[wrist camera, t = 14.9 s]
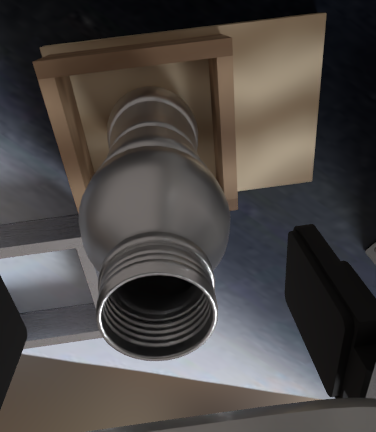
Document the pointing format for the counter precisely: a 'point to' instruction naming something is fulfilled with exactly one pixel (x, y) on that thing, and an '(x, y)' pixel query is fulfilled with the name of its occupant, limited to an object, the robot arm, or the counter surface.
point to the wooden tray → (197, 96)
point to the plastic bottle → (154, 229)
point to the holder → (47, 242)
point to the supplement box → (372, 252)
